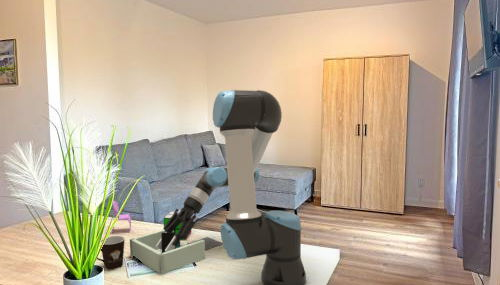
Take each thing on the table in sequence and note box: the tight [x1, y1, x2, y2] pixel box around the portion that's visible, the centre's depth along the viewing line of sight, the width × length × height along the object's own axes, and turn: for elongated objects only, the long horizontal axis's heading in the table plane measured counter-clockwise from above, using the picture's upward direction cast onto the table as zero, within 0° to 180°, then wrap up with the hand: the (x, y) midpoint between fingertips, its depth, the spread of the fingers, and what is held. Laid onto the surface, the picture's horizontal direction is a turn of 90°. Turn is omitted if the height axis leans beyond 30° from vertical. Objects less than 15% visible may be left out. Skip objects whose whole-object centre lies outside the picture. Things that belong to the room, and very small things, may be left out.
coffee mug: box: [96, 235, 126, 271], centre depth 138 cm, size 12×9×10 cm
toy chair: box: [110, 200, 132, 235], centre depth 176 cm, size 8×9×15 cm
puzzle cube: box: [163, 211, 193, 241], centre depth 169 cm, size 10×10×10 cm
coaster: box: [186, 236, 223, 251], centre depth 159 cm, size 11×11×1 cm
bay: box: [129, 229, 206, 275], centre depth 146 cm, size 20×23×7 cm
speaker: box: [161, 232, 181, 253], centre depth 147 cm, size 8×6×10 cm
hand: (162, 250), depth 145 cm, fingers closed on speaker, 6 cm apart
